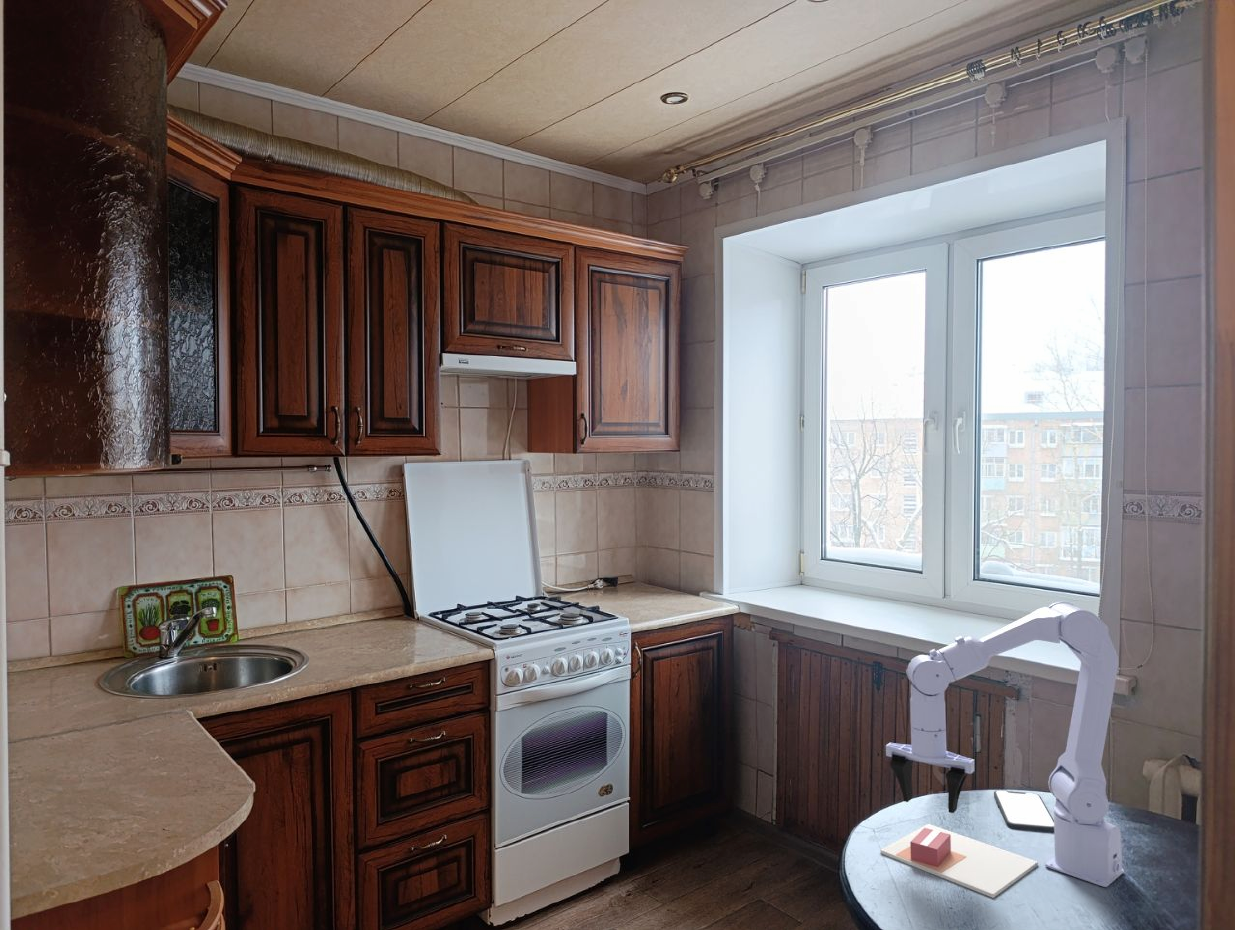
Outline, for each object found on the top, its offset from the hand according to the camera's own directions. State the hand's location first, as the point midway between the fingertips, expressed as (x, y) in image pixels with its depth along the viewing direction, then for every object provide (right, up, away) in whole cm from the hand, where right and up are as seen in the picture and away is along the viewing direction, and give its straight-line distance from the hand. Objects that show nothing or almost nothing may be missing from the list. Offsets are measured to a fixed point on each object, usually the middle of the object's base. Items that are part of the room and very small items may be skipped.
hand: (929, 805), depth 140 cm
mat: (+5, -9, 0) cm, 10 cm away
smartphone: (+25, -10, +18) cm, 33 cm away
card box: (0, -9, 0) cm, 9 cm away
